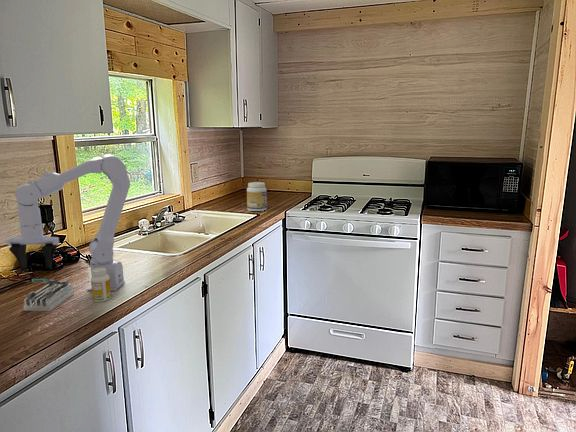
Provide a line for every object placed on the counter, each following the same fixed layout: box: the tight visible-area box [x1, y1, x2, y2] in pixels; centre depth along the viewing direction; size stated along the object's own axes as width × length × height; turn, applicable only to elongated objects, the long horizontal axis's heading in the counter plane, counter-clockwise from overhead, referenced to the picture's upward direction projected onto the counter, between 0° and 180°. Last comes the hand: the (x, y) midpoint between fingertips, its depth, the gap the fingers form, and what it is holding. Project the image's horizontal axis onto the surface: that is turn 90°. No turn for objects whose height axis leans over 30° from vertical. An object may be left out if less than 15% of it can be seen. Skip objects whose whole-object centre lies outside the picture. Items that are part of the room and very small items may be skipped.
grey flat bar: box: [31, 278, 63, 285], centre depth 134 cm, size 11×4×1 cm, turn 177°
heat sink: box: [22, 279, 75, 312], centre depth 133 cm, size 13×8×5 cm, turn 177°
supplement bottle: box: [90, 267, 112, 303], centre depth 135 cm, size 5×5×10 cm
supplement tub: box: [246, 181, 268, 212], centre depth 266 cm, size 12×12×17 cm
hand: (36, 267), depth 134 cm, fingers open, 7 cm apart
